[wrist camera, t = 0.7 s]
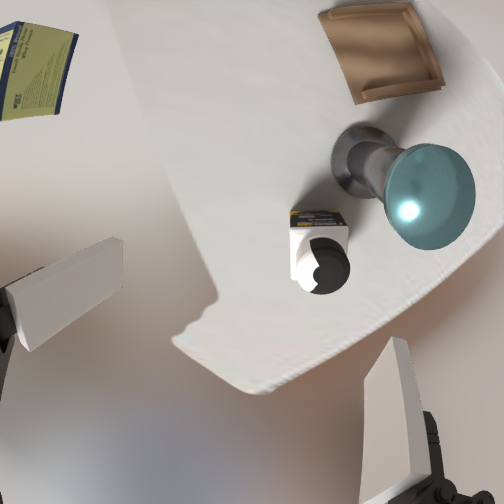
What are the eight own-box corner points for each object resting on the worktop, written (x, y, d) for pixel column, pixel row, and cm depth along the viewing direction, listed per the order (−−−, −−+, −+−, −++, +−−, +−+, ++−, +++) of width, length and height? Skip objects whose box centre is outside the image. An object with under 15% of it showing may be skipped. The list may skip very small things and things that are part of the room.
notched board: (317, 16, 26) (320, 7, 23) (402, 7, 23) (411, -1, 20) (355, 104, 31) (362, 102, 28) (437, 90, 28) (449, 88, 25)
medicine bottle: (338, 209, 38) (359, 243, 27) (337, 255, 41) (353, 300, 30) (288, 210, 39) (290, 245, 28) (290, 256, 42) (291, 303, 31)
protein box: (80, 32, 28) (17, 19, 14) (60, 115, 35) (-7, 125, 21) (44, 39, 28) (-14, 33, 14) (28, 113, 35) (-33, 124, 21)
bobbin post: (321, 136, 34) (360, 147, 16) (387, 119, 32) (474, 123, 14) (341, 204, 38) (387, 276, 20) (404, 187, 35) (485, 242, 17)
